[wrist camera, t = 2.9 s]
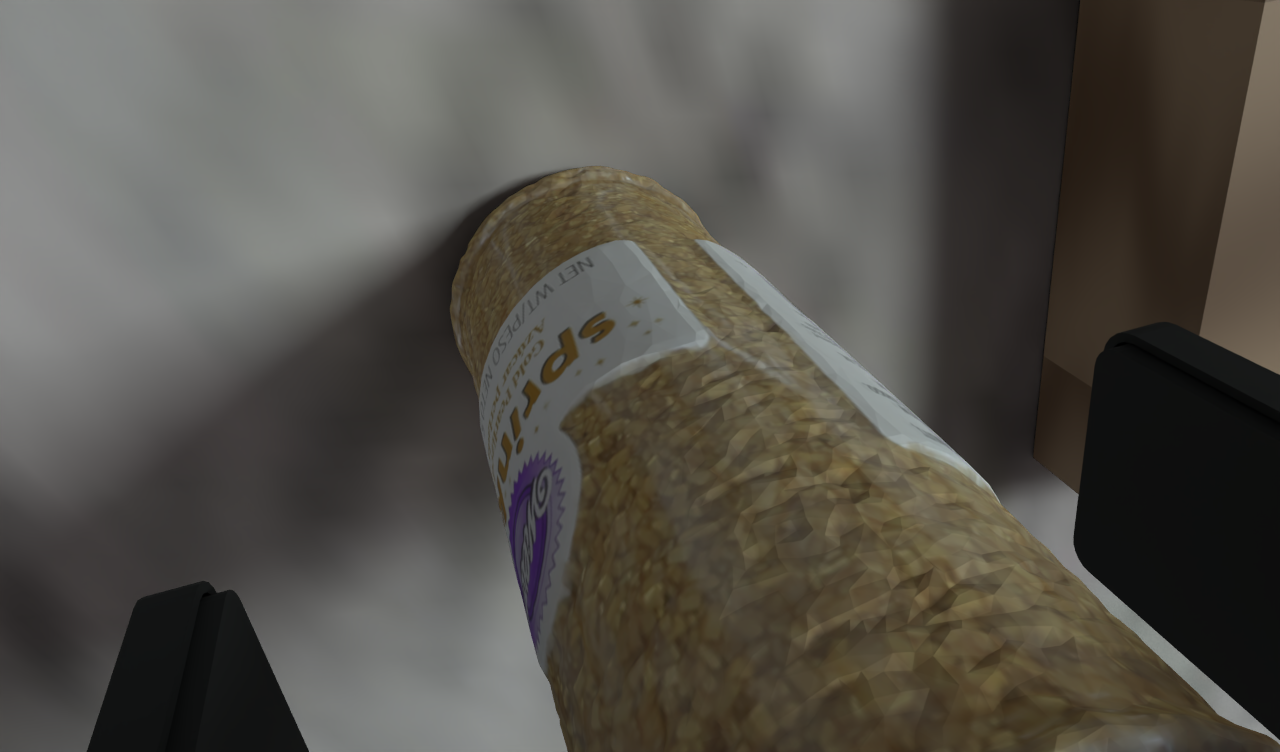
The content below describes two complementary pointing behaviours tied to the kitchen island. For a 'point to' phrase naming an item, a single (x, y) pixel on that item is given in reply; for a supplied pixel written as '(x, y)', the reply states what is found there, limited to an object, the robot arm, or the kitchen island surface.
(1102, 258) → the walnut holder
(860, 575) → the sprinkles bottle
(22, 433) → the kitchen island surface
